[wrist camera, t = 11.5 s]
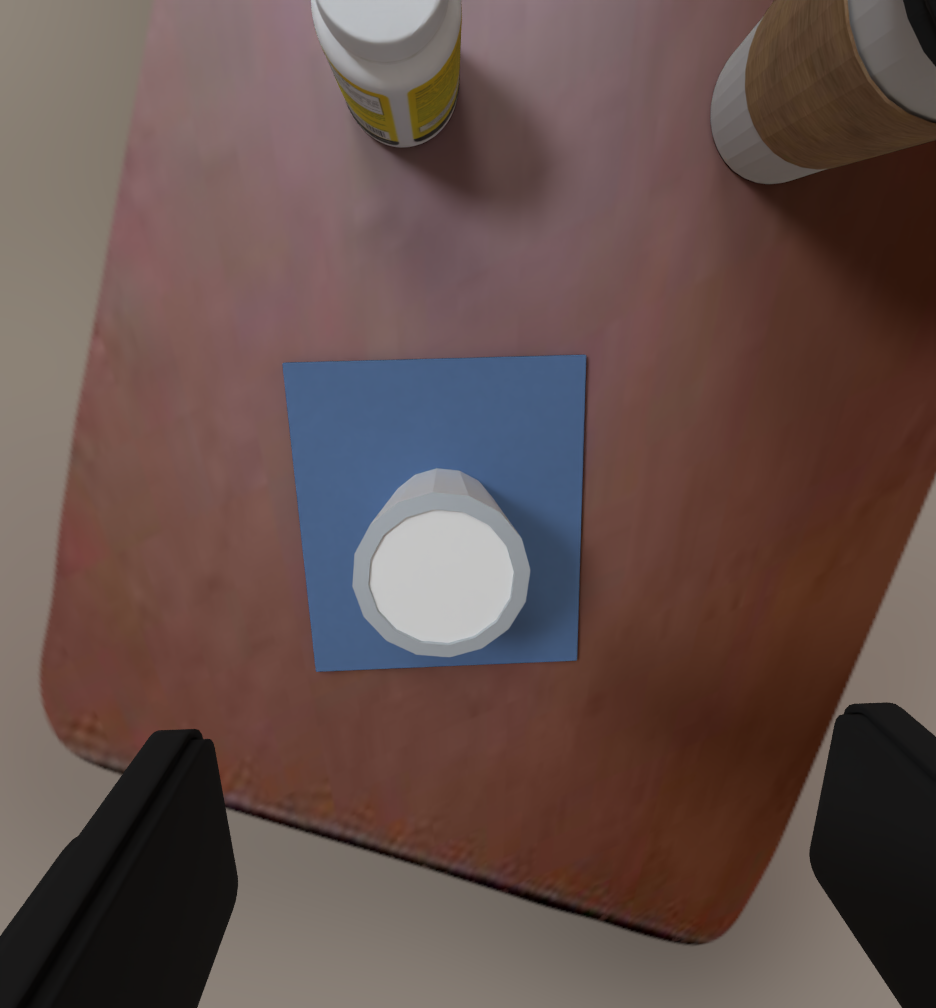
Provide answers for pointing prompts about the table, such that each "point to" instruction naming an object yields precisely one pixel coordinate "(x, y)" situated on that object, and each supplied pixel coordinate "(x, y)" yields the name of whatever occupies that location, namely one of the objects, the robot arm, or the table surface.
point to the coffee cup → (827, 87)
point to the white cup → (441, 567)
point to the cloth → (445, 445)
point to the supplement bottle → (394, 63)
